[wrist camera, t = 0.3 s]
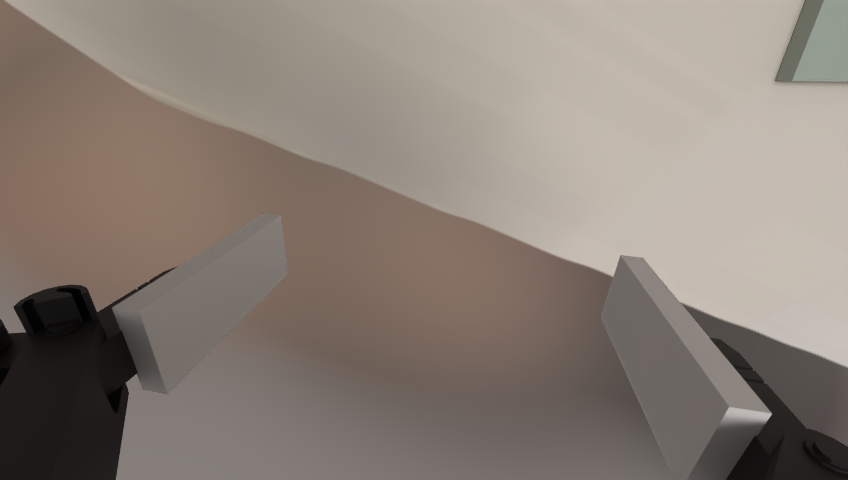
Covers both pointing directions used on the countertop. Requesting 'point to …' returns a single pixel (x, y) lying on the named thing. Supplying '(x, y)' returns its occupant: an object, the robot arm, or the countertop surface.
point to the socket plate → (818, 44)
